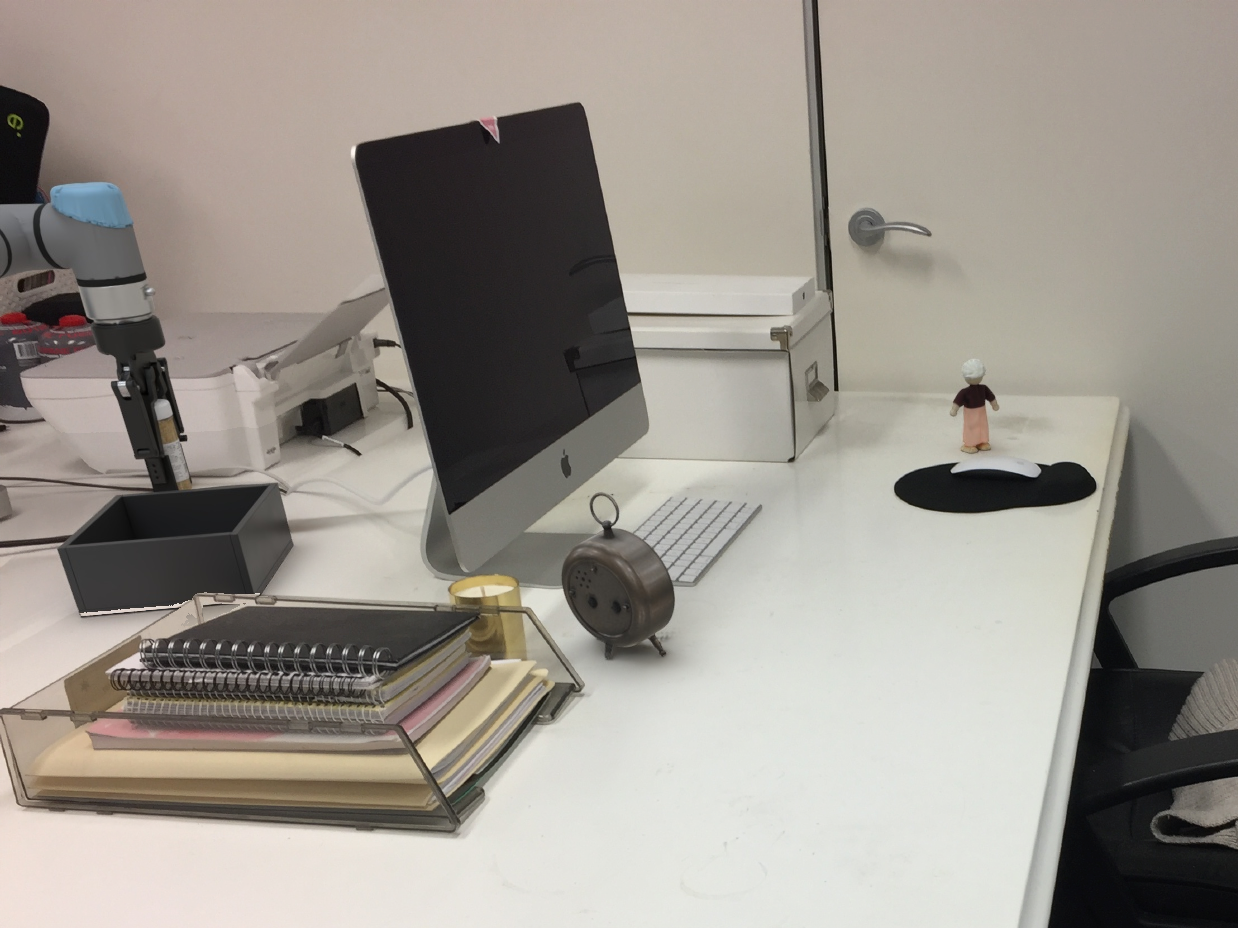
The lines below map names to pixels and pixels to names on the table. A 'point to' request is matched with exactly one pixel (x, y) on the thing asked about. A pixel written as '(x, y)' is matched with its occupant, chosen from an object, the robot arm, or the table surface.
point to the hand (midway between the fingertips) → (176, 498)
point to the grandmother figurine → (974, 407)
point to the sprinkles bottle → (172, 443)
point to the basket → (177, 547)
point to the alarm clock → (618, 586)
